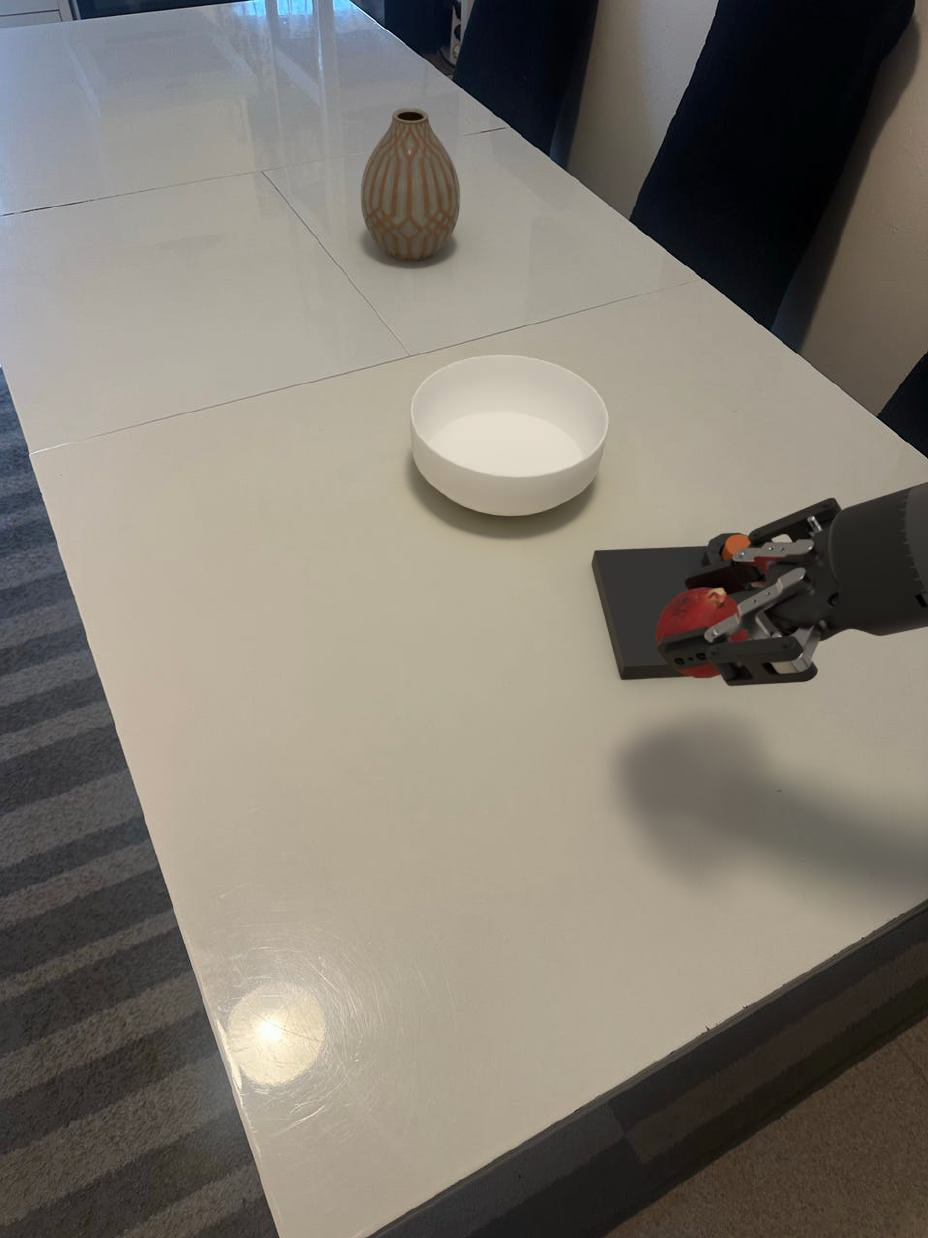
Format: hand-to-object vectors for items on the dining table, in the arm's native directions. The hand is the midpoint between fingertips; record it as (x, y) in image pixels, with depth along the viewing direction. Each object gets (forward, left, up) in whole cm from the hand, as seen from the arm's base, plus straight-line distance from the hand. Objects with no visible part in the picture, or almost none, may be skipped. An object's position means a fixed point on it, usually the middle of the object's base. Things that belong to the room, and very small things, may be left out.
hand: (679, 620), depth 61 cm
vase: (+13, -84, -18) cm, 86 cm away
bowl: (+6, -36, -18) cm, 40 cm away
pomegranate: (-1, +1, -4) cm, 5 cm away
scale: (-9, -16, -18) cm, 26 cm away
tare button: (-14, -20, -15) cm, 28 cm away
